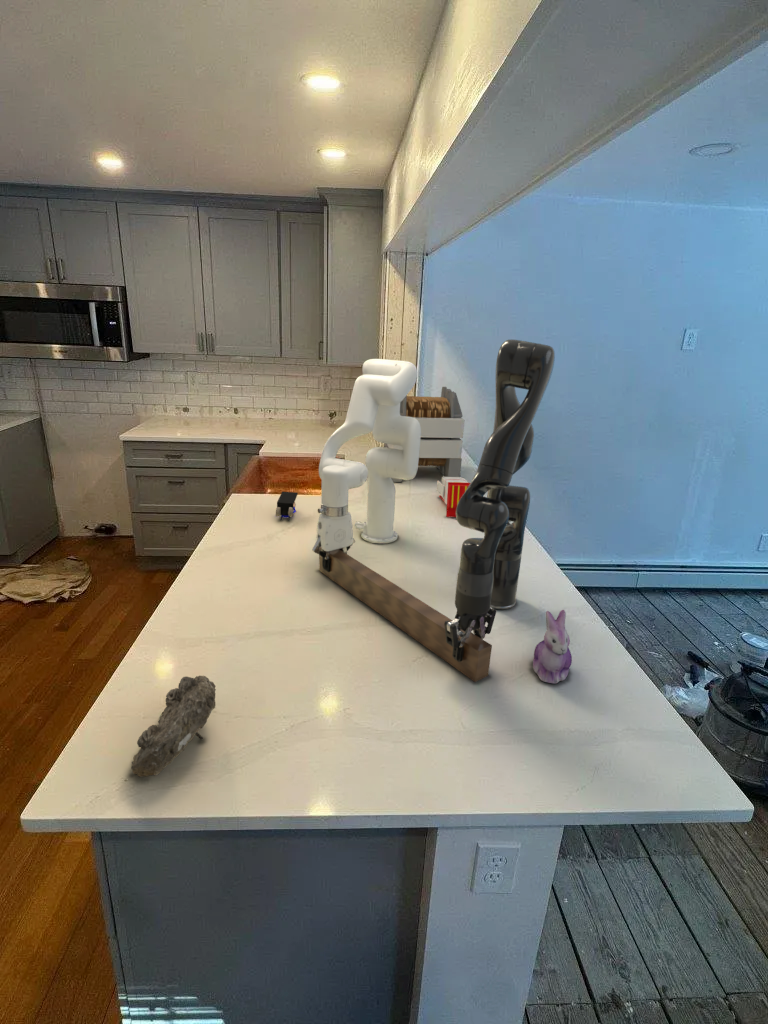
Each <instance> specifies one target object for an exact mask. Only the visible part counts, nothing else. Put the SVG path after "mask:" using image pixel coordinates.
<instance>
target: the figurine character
mask: <svg viewBox="0 0 768 1024" xmlns="http://www.w3.org/2000/svg"><path fill="white" fill-rule="evenodd" d="M298 494H299V493H298V492H293V491H281V493H280V495H279V497H278V500H277V501H276V508H275V517H279V520H280V521H283V518H284V519H286V518H287V521H288V522H289V521H290V520H291V517H294V514H295V513H297V509H296V505H297V504H296V500H297V497H298Z"/></svg>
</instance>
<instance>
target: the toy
mask: <svg viewBox="0 0 768 1024" xmlns="http://www.w3.org/2000/svg"><path fill="white" fill-rule="evenodd" d="M470 483H471V482H468V480H466V479H465V478H464V477H462V476H460V477H444V476H441V481H440V480H437V481H436V490H435V491H436V492H437V493H438V494H439V495H438V497H439V499H441V500H442V502H444V503H445V505H446V513H445V517H446V518H456V508H457V505H458V502H459V500H460V499H461V497H462V495H463V494H464V492H465V491H466V489H467V488H468V486H469V484H470Z"/></svg>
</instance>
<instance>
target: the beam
mask: <svg viewBox="0 0 768 1024" xmlns="http://www.w3.org/2000/svg"><path fill="white" fill-rule="evenodd" d="M319 550H322V547H320V548H319ZM329 559H330V560H331V571H330V572H327V571H326V570H325V569H323V566H322V556H320V555H319V554H318V571H319V572H320V573H322V575H324V576H326V577H328V579H330V580H331V581H332V582H334V583H335V584H337V585H338V586H339V587H341V588H342V589H344V590H345V591H347V592H348V593H350V594H351V595H352V596H353V597H355V598H357V599H358V600H359V601H361V602H362V603H364V605H366V606H368V607H369V608H371V609H372V610H373V611H375V612H376V613H378V614H379V615H380V616H382V617H383V618H385V619H386V620H387V621H388V622H390V623H391V624H393V625H394V626H395V627H397V628H399V629H400V630H401V631H403V632H404V633H405V634H407V635H408V636H409V637H411V638H413V639H414V640H415V641H417V642H418V643H419V644H421V645H423V647H425V648H426V649H428V650H429V651H431V652H432V653H434V654H435V655H436V656H437V657H439V658H440V659H441V660H443V661H445V662H446V663H448V664H449V665H450V666H452V667H453V668H455V669H456V670H457V671H459V672H460V673H461V674H462V675H464V676H466V677H467V678H468V679H470V680H471V681H473V682H474V683H477V682H479V681H481V680H483V679H485V678H487V677H489V672H490V666H491V665H490V664H491V656H492V647H493V645H492V644H491V643H489V642H488V641H486V640H484V639H481V638H479V637H478V636H476V635H475V634H474V633H473V631H471V633H470V636H469V638H468V639H466V641H465V643H464V646H463V647H464V650H463V660H462V661H461V662H458V661H457V660H455V659H454V658H453V656H452V654H453V647H452V646H451V645H449V644H448V643H446V635H445V626H444V623H445V621H447V620H448V621H449V622H451V621H452V619H451V618H449V617H447V616H446V615H445V614H443V613H441V612H440V611H438V610H437V609H435V608H433V607H432V606H430V605H429V604H427V603H426V602H424V601H422V600H420V599H419V598H418V597H416V596H414V595H413V594H411V593H409V592H408V591H406V590H405V589H403V588H402V587H400V586H398V585H397V584H395V583H393V582H392V581H390V580H389V579H387V578H386V577H384V576H382V575H381V574H379V573H378V572H376V571H375V570H373V569H372V568H370V567H368V566H366V564H363V563H362V562H360V561H359V560H357V559H355V558H354V557H353V556H351V555H349V554H348V553H347V554H346V553H344V552H343V551H341V550H340V549H336V550H332V551H330V556H329ZM460 630H461V631H462V632H464V633H465V631H463V630H462V629H460ZM460 639H461V636H459V638H458V640H459V641H460Z"/></svg>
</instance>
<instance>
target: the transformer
mask: <svg viewBox="0 0 768 1024" xmlns="http://www.w3.org/2000/svg"><path fill="white" fill-rule="evenodd" d="M440 393H441V394H440V396H415V395H414V396H413V395H412V396H411V395H408V394H407V395H406V396H405V398H404V399H403V400H402V401H401V402H400V415H401V416H407V417H413V418H415V419H417V420H418V421H419V423H420V427H421V439H420V450H419V461H418V467H436V468H437V470H438V469H439V473H440V474H441V475H443V476H442V477H461V472H462V461H463V460H462V453H463V442H464V441H463V440H462V439H463V438H464V431H465V430H464V429H465V419H464V418H463V411H462V408H461V405H460V402H459V398H458V395H457V392H455V391H453V390H452V389H451V388H447V386H442V387H441V392H440ZM383 447H386V448H394V449H399V450H403V447H402V446H399V445H392V444H385V443H383ZM391 479H392V481H393V483H402V482H403V479H396V478H391Z"/></svg>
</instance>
